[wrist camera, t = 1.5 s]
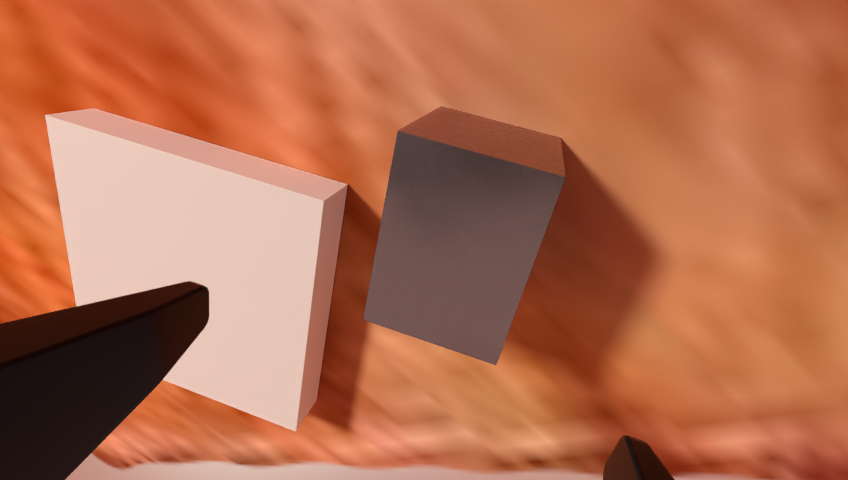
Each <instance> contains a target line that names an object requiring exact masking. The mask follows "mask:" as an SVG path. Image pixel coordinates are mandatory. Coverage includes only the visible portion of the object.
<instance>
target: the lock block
mask: <svg viewBox="0 0 848 480" xmlns="http://www.w3.org/2000/svg"><path fill="white" fill-rule="evenodd" d="M565 178H566V175H565V167H564V159H563V151H562V143H561V138H559V137H555V136H552V135H548V134H544V133H540V132H536V131H533V130H529V129H525V128H521V127H518V126H514V125H510V124H506V123H502V122H499V121H495V120H491V119H487V118H484V117H480V116H476V115H472V114H468V113H465V112H461V111H457V110H453V109H450V108H446V107H442V106H441V107H439V108H437V109H435V110H434V111H432V112H430V113H428V114H427V115H425V116H423V117H421V118H419V119H418V120H416V121H414V122H412V123H411V124H409V125H407V126H405V127H404V128H402V129H400V130H398V133H397V138H396V144H395V149H394V155H393V160H392V165H391V171H390V176H389V182H388V187H387V193H386V198H385V203H384V209H383V214H382V220H381V225H380V230H379V236H378V241H377V247H376V252H375V257H374V263H373V268H372V274H371V279H370V284H369V290H368V295H367V301H366V306H365V312H364V317H363V320H365V321H368V322H371V323H374V324H377V325H380V326H383V327H386V328H389V329H392V330H395V331H398V332H400V333H403V334H406V335H409V336H412V337H415V338H418V339H421V340H424V341H427V342H430V343H433V344H436V345H438V346H441V347H444V348H447V349H450V350H453V351H456V352H459V353H462V354H465V355H468V356H471V357H474V358H476V359H479V360H482V361H485V362H488V363H491V364H494V365H496V364H497V362H498V359H499V356H500V354H501V351H502V348H503V345H504V343H505V340H506V337H507V335H508V332H509V329H510V327H511V324H512V321H513V318H514V316H515V313H516V310H517V308H518V305H519V302H520V300H521V297H522V294H523V291H524V289H525V286H526V283H527V281H528V278H529V275H530V273H531V270H532V267H533V264H534V262H535V259H536V256H537V254H538V251H539V248H540V245H541V243H542V240H543V237H544V235H545V232H546V229H547V227H548V224H549V221H550V218H551V216H552V213H553V210H554V208H555V205H556V202H557V200H558V197H559V194H560V191H561V189H562V186H563V183H564V181H565Z"/></svg>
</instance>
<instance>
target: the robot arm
mask: <svg viewBox="0 0 848 480" xmlns="http://www.w3.org/2000/svg"><path fill="white" fill-rule="evenodd" d="M208 320H209V290H208V288H207V287H206V286H204V285H201V284H198V283H196V282H192V281H186V282H182V283H178V284H173V285H169V286H164V287H160V288H156V289H151V290H147V291H142V292H138V293H134V294H129V295H125V296H120V297H116V298H112V299H107V300H103V301H98V302H94V303H90V304H85V305H81V306H76V307H72V308H68V309H63V310H59V311H54V312H50V313H46V314H41V315H37V316H32V317H28V318H24V319H19V320H15V321H10V322H6V323H2V324H0V480H65V479H66V478H67V477H68V476H69V475H70V474H71V473H72V472H73V471H74V470H75V469H76V468H77V467H78V466H79V465H80V464H81V463H82V462H83V461H84V460H85V459H86V458H87V457H88V456H89V455H90V454H91V453H92V452H93V451H94V450H95V449H96V448H97V447H98V446H99V445H100V444H101V443H102V442H103V440H104V439H105V438H106V437H107V436H108V435H109V434H110V433H111V432H112V431H113V430H114V429H115V428H116V427H117V426H118V425H119V424H120V423H121V422H122V421H123V420H124V419H125V418H126V417H127V416H128V415H129V414H130V413H131V412H132V411H133V410H134V409H135V408H136V407H137V406H138V405H139V404H140V403H141V402H142V401H143V400H144V399H145V398H146V397H147V396H148V395H149V394H150V393H151V392H152V391H153V389H154V388H155V387H156V386H157V385H158V384H159V383H160V382H161V381H162V380H163V379H164V377H165V376H166V375H167V374H168V373H169V371H170V370H171V369H172V368H173V366H174V365H175V364H176V363H177V362H178V360H179V359H180V358H181V357H182V355H183V354H184V353H185V352H186V350H187V349H188V348H189V347H190V345H191V344H192V343H193V342H194V340H195V339H196V338H197V337H198V336H199V334H200V333H201V332H202V331H203V329H204V328H205V327H206V325H207V323H208ZM603 480H674V478H673V477H672V476H671V474H670V473H669V472H668V470H667V469H666V468H665V466H664V465H663V464H662V462H661V461H660V459H659V458H658V457H657V455H656V454H655V453H654V451H653V450H652V449H651V447H650V446H649V445H648V444H647V443H646V442H644V441H642V440H639V439H636V438H633V437H630V436H623V437H622V438H621V439H620V440H619V442H618V443H617V445H616V447H615V448H614V450H613V452H612V453H611V455H610V457H609V458H608V460H607V462H606V464H605V468H604V473H603Z"/></svg>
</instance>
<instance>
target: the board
mask: <svg viewBox="0 0 848 480" xmlns="http://www.w3.org/2000/svg"><path fill="white" fill-rule="evenodd" d="M45 117H46V123H47V129H48V135H49V141H50V147H51V153H52V160H53V166H54V172H55V178H56V184H57V190H58V196H59V203H60V209H61V215H62V221H63V227H64V233H65V239H66V245H67V252H68V258H69V264H70V270H71V276H72V282H73V288H74V294H75V301H76V306H81V305H85V304H90V303H94V302H98V301H103V300H107V299H112V298H116V297H120V296H125V295H129V294H134V293H138V292H142V291H147V290H151V289H156V288H160V287H164V286H169V285H173V284H178V283H182V282H186V281H192V282H196V283H198V284H201V285H204V286H206V287H207V288H208V290H209V320H208V323H207V325H206V327H205V328H204V329H203V331H202V332H201V333H200V334H199V336H198V337H197V338H196V339H195V340H194V342H193V343H192V344H191V345H190V347H189V348H188V349H187V350H186V352H185V353H184V354H183V355H182V357H181V358H180V359H179V360H178V362H177V363H176V364H175V365H174V366H173V368H172V369H171V370H170V371H169V373H168V374H167V375H166V376H165V377H164V379H163V380H165V381H167V382H170V383H172V384H175V385H177V386H180V387H183V388H185V389H188V390H190V391H193V392H195V393H198V394H201V395H203V396H206V397H208V398H211V399H213V400H216V401H219V402H221V403H224V404H226V405H229V406H231V407H234V408H237V409H239V410H242V411H244V412H247V413H249V414H252V415H254V416H257V417H260V418H262V419H265V420H267V421H270V422H272V423H275V424H278V425H280V426H283V427H285V428H288V429H290V430H293V431H297V429H298V428H299V426H300V425H301V423H302V422H303V420H304V419H305V417H306V416H307V414H308V413H309V411H310V410H311V408H312V407H313V405H314V403H315V402H316V400H317V395H318V388H319V381H320V374H321V368H322V361H323V354H324V347H325V340H326V333H327V326H328V319H329V312H330V305H331V298H332V291H333V284H334V277H335V270H336V263H337V256H338V249H339V242H340V236H341V229H342V222H343V215H344V208H345V201H346V194H347V187H348V184H345V183H342V182H338V181H335V180H332V179H328V178H325V177H322V176H318V175H315V174H312V173H308V172H305V171H302V170H298V169H295V168H292V167H288V166H285V165H282V164H278V163H275V162H272V161H268V160H265V159H262V158H258V157H255V156H252V155H248V154H245V153H242V152H238V151H235V150H232V149H228V148H225V147H222V146H218V145H215V144H212V143H208V142H205V141H202V140H198V139H195V138H192V137H188V136H185V135H182V134H178V133H175V132H172V131H168V130H165V129H162V128H158V127H155V126H152V125H148V124H145V123H142V122H138V121H135V120H132V119H128V118H125V117H122V116H118V115H115V114H112V113H108V112H105V111H102V110H98V109H95V108H93V109H85V110H78V111H71V112H63V113H56V114H49V115H45Z"/></svg>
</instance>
